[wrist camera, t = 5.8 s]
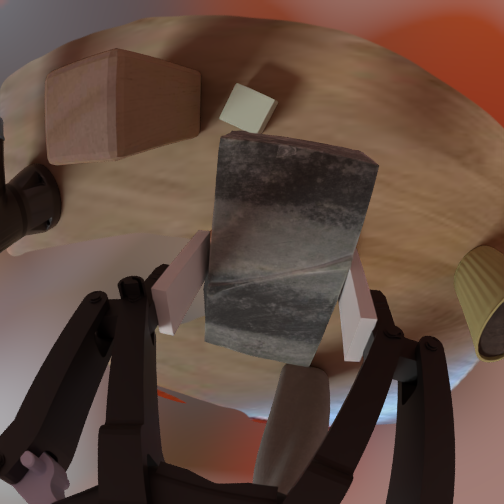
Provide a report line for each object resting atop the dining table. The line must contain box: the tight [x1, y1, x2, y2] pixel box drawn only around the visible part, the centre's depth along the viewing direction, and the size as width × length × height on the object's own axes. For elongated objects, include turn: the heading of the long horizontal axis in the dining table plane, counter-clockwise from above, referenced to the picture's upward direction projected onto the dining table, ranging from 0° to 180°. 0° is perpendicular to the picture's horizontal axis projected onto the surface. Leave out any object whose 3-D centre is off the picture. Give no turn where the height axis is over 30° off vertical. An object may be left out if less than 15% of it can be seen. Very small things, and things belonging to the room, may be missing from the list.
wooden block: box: [45, 48, 201, 165], centre depth 27 cm, size 10×10×20 cm
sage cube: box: [219, 83, 278, 134], centre depth 32 cm, size 5×5×5 cm
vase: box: [253, 364, 330, 494], centre depth 42 cm, size 12×12×30 cm
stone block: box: [203, 131, 379, 367], centre depth 17 cm, size 9×14×5 cm, turn 172°
